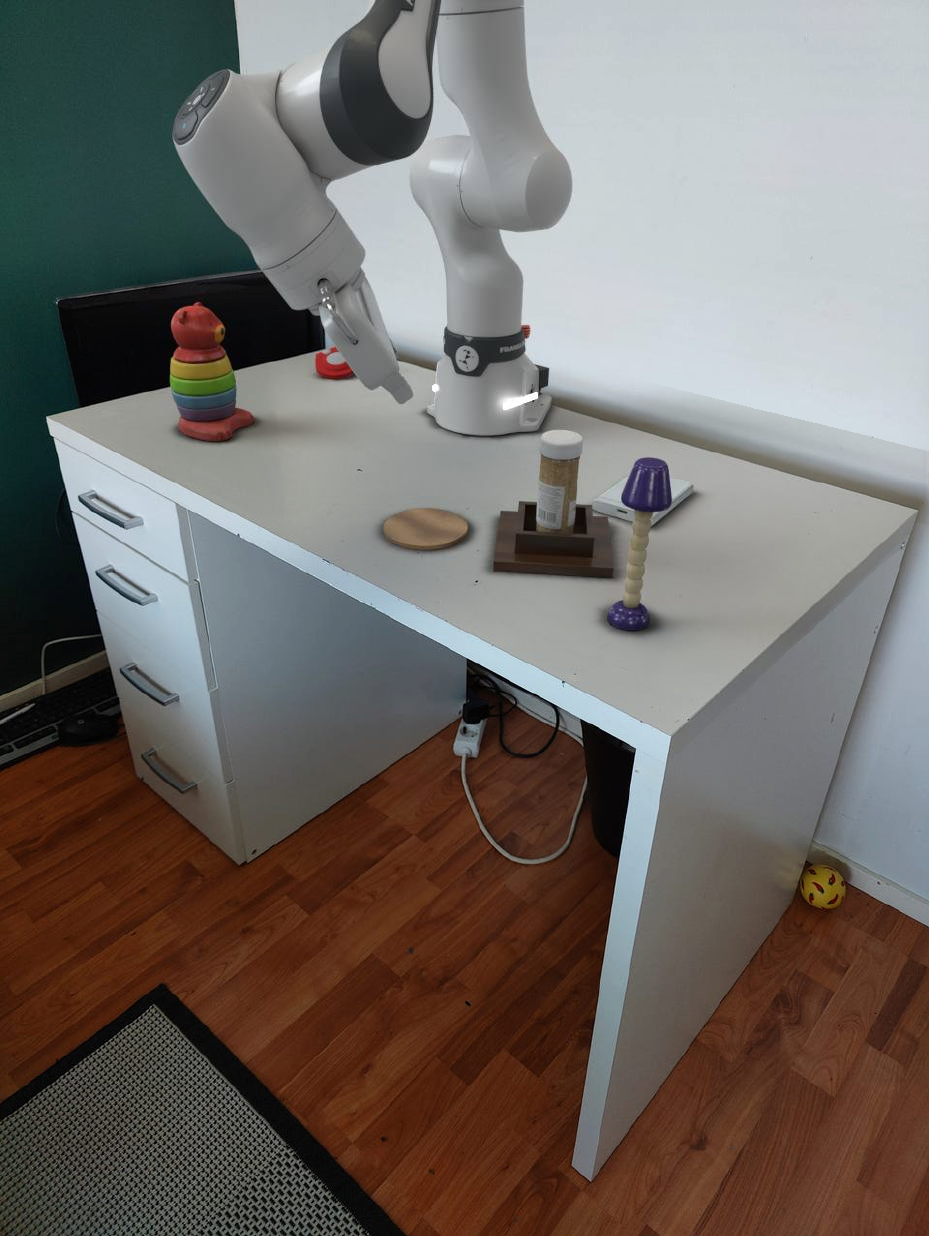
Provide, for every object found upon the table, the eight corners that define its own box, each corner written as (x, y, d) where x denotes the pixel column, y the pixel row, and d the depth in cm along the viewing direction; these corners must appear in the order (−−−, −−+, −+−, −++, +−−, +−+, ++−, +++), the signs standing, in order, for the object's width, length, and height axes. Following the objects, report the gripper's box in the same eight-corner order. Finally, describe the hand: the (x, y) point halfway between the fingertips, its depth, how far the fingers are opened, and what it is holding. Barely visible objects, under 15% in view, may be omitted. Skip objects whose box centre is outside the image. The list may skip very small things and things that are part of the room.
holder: (500, 519, 105) (501, 492, 104) (606, 525, 105) (610, 498, 103) (493, 570, 95) (494, 541, 93) (612, 577, 94) (616, 548, 92)
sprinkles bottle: (580, 549, 99) (592, 438, 92) (549, 559, 97) (558, 446, 90) (555, 534, 102) (565, 425, 95) (525, 543, 100) (532, 432, 93)
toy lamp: (602, 606, 89) (620, 452, 80) (646, 605, 89) (670, 452, 80) (611, 631, 84) (632, 472, 76) (658, 631, 85) (684, 472, 76)
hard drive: (637, 468, 116) (593, 498, 107) (694, 482, 112) (653, 515, 103) (635, 479, 117) (591, 510, 108) (692, 494, 113) (651, 527, 104)
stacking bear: (223, 443, 125) (205, 317, 116) (162, 435, 128) (140, 311, 118) (259, 419, 134) (245, 300, 124) (201, 412, 136) (184, 295, 127)
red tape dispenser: (328, 377, 150) (301, 350, 155) (332, 398, 153) (306, 371, 158) (388, 351, 153) (359, 326, 159) (390, 372, 157) (363, 347, 162)
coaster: (409, 506, 108) (408, 502, 108) (481, 522, 105) (481, 518, 104) (368, 538, 100) (367, 534, 100) (444, 557, 97) (444, 552, 97)
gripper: (356, 282, 71) (443, 406, 80) (334, 212, 87) (409, 322, 95) (295, 326, 73) (388, 443, 82) (284, 249, 88) (363, 354, 97)
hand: (399, 377), depth 89 cm, fingers open, 8 cm apart
